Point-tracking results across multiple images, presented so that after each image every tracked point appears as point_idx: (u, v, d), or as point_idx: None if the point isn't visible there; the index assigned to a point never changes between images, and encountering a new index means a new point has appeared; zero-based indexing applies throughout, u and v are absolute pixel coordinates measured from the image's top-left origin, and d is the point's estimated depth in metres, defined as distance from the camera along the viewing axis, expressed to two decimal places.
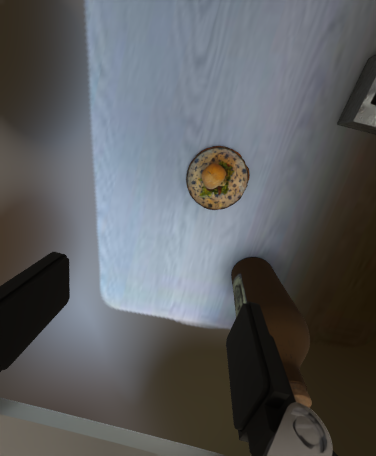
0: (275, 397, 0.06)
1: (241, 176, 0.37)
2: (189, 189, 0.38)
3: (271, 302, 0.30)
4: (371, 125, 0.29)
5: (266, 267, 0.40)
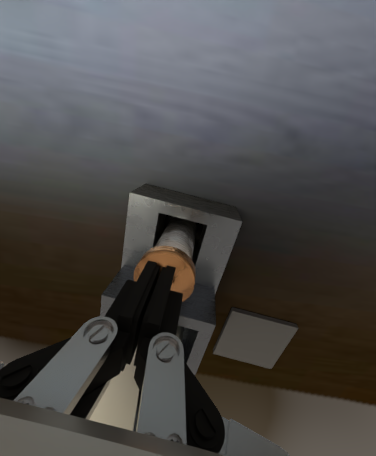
0: (150, 328, 0.07)
1: None
2: None
3: None
4: (127, 225, 0.16)
5: None
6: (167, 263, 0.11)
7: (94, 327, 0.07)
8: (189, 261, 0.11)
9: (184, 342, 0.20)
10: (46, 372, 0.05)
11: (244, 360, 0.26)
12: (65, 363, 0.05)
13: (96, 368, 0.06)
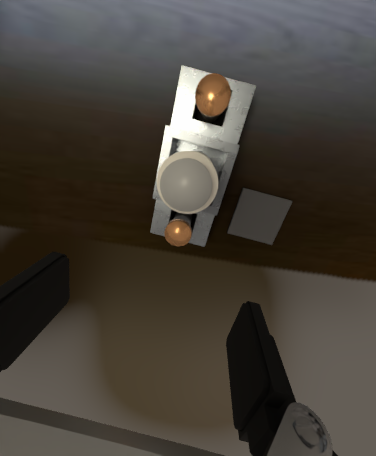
0: (275, 397, 0.06)
1: None
2: None
3: None
4: (177, 93, 0.24)
5: None
6: (216, 80, 0.19)
7: None
8: None
9: None
10: None
11: (251, 238, 0.33)
12: None
13: None
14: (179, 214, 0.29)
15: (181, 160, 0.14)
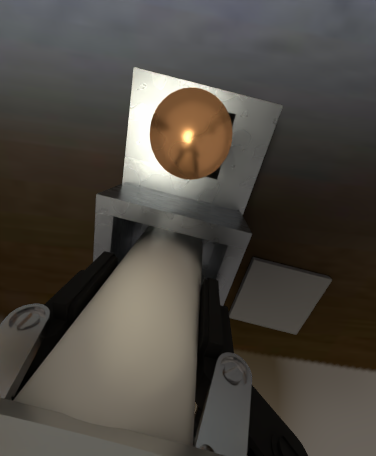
0: (212, 348, 0.07)
1: None
2: None
3: None
4: (130, 121, 0.12)
5: None
6: (197, 104, 0.08)
7: (21, 316, 0.06)
8: None
9: None
10: None
11: (265, 325, 0.22)
12: None
13: None
14: None
15: None
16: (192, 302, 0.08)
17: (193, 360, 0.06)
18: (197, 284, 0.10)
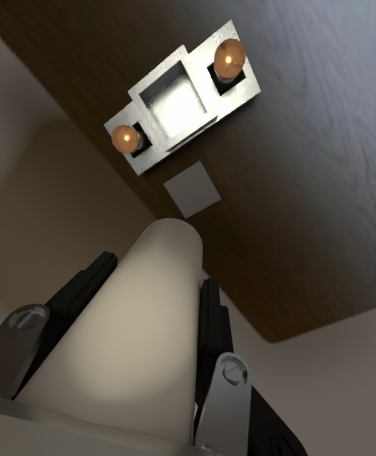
0: (212, 348, 0.07)
1: None
2: None
3: None
4: (211, 36, 0.25)
5: None
6: (239, 50, 0.22)
7: (21, 316, 0.06)
8: (244, 62, 0.23)
9: None
10: None
11: (176, 202, 0.37)
12: None
13: None
14: (139, 132, 0.30)
15: None
16: (192, 302, 0.08)
17: (193, 360, 0.07)
18: (197, 284, 0.10)
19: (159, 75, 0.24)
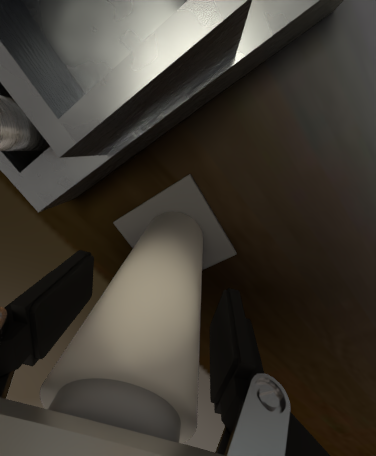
0: (243, 369, 0.07)
1: None
2: None
3: None
4: None
5: None
6: None
7: None
8: None
9: None
10: None
11: None
12: None
13: None
14: None
15: None
16: (194, 283, 0.10)
17: (197, 327, 0.08)
18: (198, 269, 0.11)
19: None
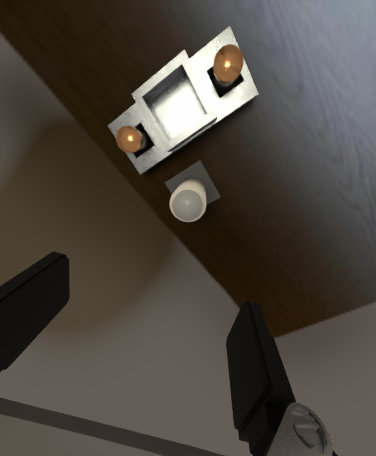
0: (275, 397, 0.06)
1: None
2: None
3: None
4: (211, 42, 0.26)
5: None
6: (237, 55, 0.23)
7: None
8: None
9: None
10: None
11: None
12: None
13: None
14: (141, 132, 0.31)
15: (183, 192, 0.25)
16: (203, 189, 0.30)
17: (205, 194, 0.28)
18: (204, 189, 0.32)
19: (161, 79, 0.25)
